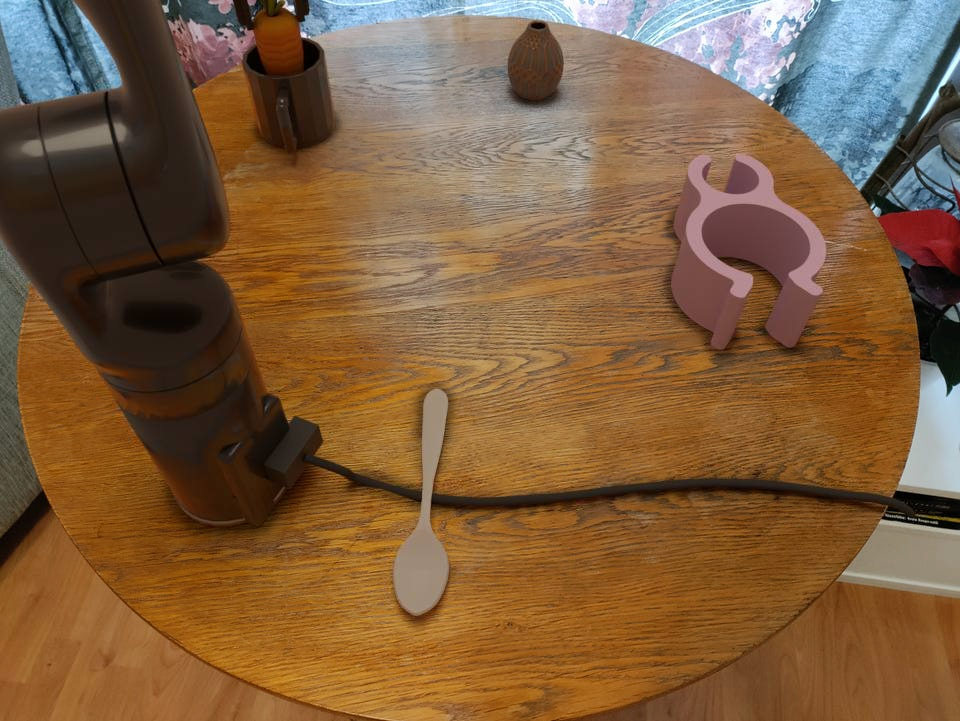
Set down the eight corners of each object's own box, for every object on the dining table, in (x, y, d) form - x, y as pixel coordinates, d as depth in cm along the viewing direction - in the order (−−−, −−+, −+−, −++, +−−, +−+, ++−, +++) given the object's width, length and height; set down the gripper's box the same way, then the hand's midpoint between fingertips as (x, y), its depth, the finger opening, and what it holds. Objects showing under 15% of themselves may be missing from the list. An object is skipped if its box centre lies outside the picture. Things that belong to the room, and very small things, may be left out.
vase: (570, 87, 98) (577, 20, 91) (544, 113, 94) (549, 45, 87) (523, 71, 100) (527, 5, 93) (496, 96, 96) (498, 29, 89)
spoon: (388, 621, 54) (386, 613, 53) (413, 389, 67) (412, 377, 66) (446, 623, 54) (445, 615, 53) (460, 390, 67) (460, 379, 66)
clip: (648, 208, 83) (660, 155, 77) (761, 205, 83) (781, 152, 78) (688, 350, 70) (706, 298, 65) (822, 346, 71) (850, 294, 65)
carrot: (268, 99, 91) (238, -30, 79) (310, 93, 92) (286, -36, 80) (274, 122, 88) (244, -9, 76) (317, 115, 89) (293, -15, 77)
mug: (263, 107, 94) (246, 37, 88) (336, 103, 95) (325, 34, 88) (253, 169, 87) (234, 98, 80) (333, 165, 87) (321, 94, 80)
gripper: (159, -138, 65) (212, 51, 78) (325, -157, 68) (349, 28, 81) (151, -166, 69) (202, 18, 83) (306, -183, 73) (332, -4, 86)
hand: (275, 22), depth 82 cm, fingers closed on carrot, 5 cm apart
